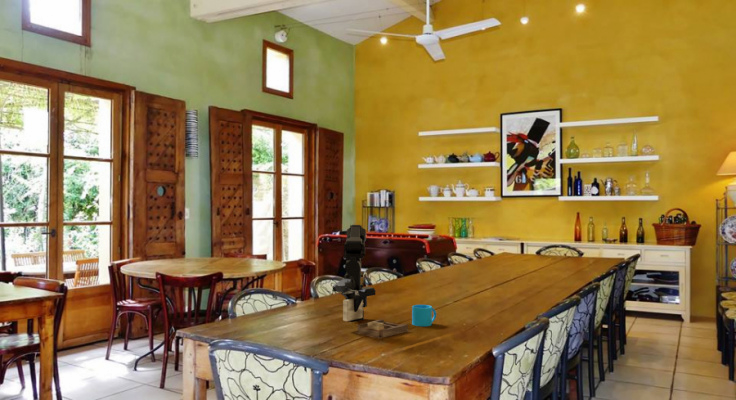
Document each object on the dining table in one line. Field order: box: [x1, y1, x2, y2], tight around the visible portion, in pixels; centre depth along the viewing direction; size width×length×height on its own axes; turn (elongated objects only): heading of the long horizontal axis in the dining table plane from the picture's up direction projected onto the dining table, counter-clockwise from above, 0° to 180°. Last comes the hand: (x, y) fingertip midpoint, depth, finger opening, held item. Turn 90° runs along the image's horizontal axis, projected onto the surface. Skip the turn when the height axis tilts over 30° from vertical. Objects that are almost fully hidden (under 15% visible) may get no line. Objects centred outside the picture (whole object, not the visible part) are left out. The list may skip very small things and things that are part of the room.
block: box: [342, 298, 364, 322], centre depth 212 cm, size 9×2×8 cm, turn 137°
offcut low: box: [365, 327, 384, 335], centre depth 206 cm, size 7×4×2 cm, turn 47°
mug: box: [411, 304, 437, 327], centre depth 224 cm, size 12×8×8 cm
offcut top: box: [367, 320, 384, 330], centre depth 206 cm, size 5×4×2 cm
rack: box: [354, 319, 410, 339], centre depth 209 cm, size 14×18×3 cm
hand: (353, 311), depth 213 cm, fingers closed on block, 2 cm apart
